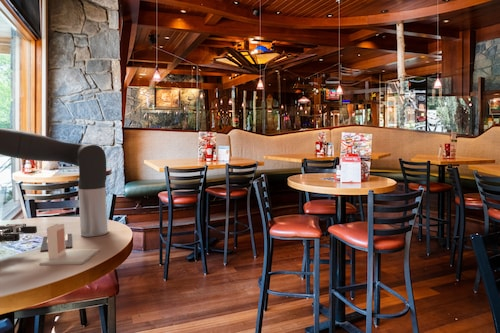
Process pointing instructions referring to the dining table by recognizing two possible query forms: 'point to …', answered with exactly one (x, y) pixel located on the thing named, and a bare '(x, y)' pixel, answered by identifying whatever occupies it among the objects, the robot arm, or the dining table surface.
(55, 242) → the deck box
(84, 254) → the mat
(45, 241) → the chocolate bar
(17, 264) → the dining table surface
